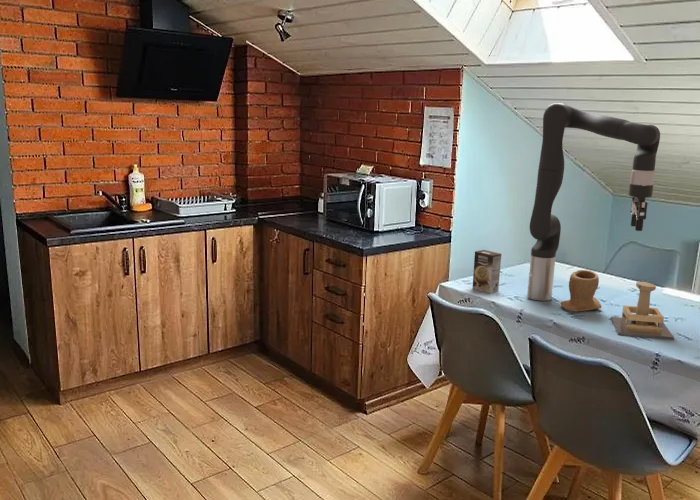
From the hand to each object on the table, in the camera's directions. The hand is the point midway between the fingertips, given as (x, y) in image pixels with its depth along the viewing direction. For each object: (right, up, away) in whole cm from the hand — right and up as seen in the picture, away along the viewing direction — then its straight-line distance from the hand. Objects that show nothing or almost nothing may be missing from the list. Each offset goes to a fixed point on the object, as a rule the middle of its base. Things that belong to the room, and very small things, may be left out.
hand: (636, 228), depth 218 cm
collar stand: (-2, -35, -8) cm, 36 cm away
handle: (-2, -34, -8) cm, 35 cm away
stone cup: (-15, -30, +12) cm, 36 cm away
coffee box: (-46, -24, +35) cm, 63 cm away
